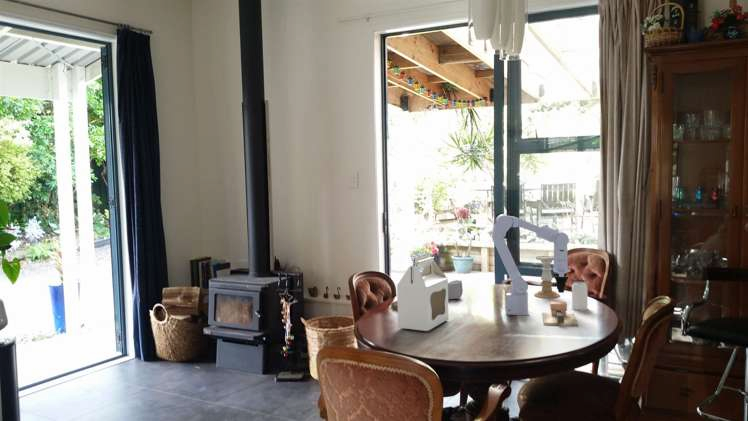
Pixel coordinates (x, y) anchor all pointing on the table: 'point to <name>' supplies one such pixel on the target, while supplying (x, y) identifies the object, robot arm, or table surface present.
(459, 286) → the decorative stone
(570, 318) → the rail board
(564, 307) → the block
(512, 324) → the table surface
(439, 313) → the gable box
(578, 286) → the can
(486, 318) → the table surface
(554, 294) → the candle holder
